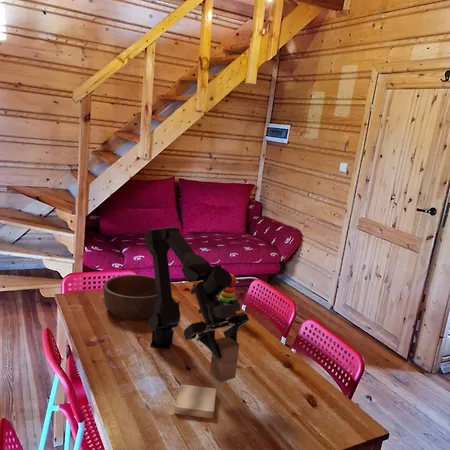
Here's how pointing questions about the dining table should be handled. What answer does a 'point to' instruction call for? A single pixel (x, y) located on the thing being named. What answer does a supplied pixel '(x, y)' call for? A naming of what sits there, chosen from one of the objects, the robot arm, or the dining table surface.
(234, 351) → the walnut pillar
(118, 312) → the wooden bowl
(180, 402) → the birch plinth
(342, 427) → the dining table surface
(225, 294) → the stacking toy
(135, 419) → the dining table surface
